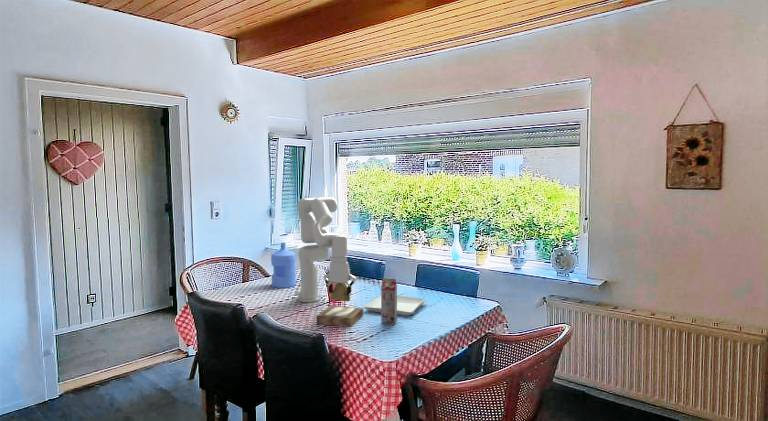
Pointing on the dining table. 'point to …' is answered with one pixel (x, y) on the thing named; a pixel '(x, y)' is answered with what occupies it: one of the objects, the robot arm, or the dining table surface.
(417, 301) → the square plate
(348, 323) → the stand
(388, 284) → the juice carton
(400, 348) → the dining table surface
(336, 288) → the rock
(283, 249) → the water jug
